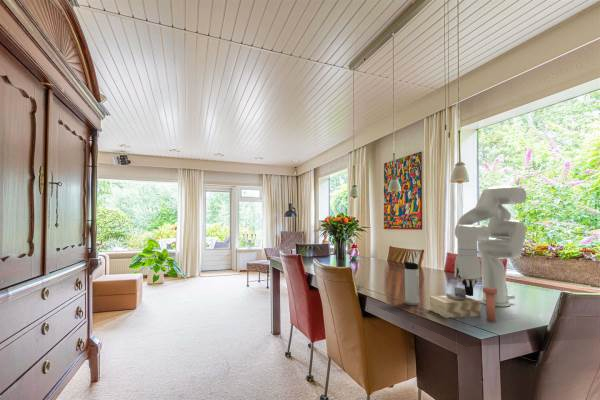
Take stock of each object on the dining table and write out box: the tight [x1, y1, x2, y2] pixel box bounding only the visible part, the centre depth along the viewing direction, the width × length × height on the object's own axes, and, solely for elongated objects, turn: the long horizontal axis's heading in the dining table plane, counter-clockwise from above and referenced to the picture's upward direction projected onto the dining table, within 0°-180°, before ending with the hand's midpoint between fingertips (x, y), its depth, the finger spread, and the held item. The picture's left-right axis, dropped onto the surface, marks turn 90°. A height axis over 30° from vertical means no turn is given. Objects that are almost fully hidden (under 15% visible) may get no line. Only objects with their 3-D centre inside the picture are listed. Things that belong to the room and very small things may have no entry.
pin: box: [482, 287, 497, 323], centre depth 119 cm, size 5×5×12 cm
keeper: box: [445, 286, 468, 300], centre depth 129 cm, size 5×6×4 cm
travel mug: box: [403, 261, 420, 306], centre depth 143 cm, size 6×7×20 cm
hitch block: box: [429, 295, 482, 319], centre depth 128 cm, size 16×11×6 cm
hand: (469, 295), depth 129 cm, fingers closed
